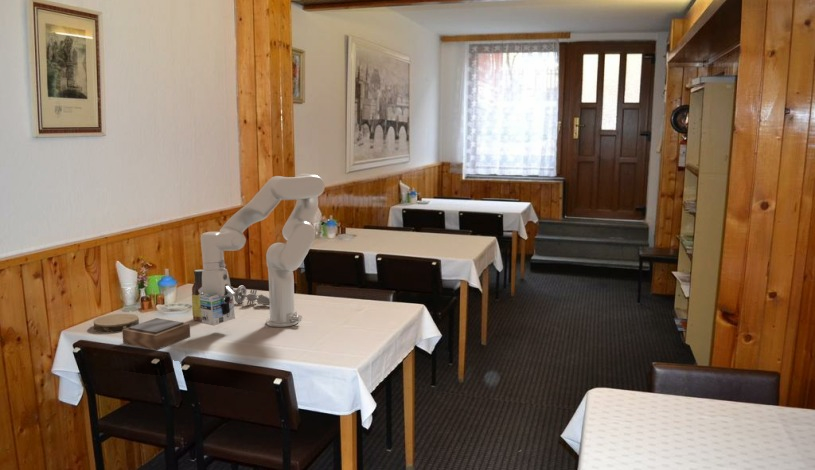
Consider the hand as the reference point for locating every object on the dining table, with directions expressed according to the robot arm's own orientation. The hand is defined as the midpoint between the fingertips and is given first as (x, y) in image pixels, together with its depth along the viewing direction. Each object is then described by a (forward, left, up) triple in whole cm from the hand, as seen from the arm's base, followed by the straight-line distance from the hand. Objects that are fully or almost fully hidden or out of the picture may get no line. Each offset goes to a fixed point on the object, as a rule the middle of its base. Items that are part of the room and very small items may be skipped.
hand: (217, 312), depth 247 cm
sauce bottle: (+19, -11, -8) cm, 23 cm away
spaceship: (+21, -38, -8) cm, 44 cm away
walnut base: (+15, +16, -8) cm, 23 cm away
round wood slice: (+42, +10, -9) cm, 44 cm away
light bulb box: (0, 0, -4) cm, 4 cm away
